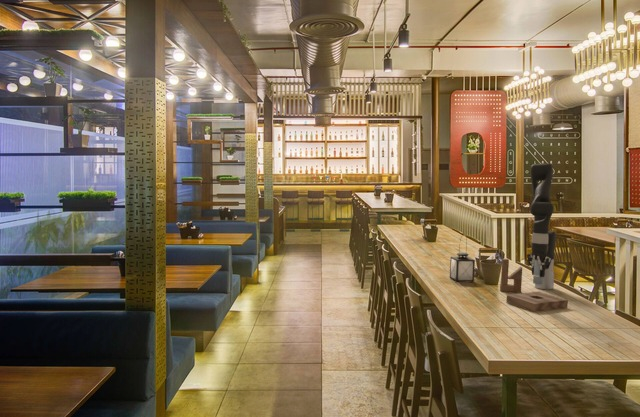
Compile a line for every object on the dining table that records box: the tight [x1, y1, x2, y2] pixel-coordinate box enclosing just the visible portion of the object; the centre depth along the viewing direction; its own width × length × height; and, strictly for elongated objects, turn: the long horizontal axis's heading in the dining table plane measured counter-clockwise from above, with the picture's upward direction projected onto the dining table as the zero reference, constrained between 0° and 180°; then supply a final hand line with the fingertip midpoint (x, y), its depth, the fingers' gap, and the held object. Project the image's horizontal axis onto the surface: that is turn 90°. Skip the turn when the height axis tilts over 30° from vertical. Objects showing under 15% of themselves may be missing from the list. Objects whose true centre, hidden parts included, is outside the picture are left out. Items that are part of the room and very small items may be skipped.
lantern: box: [449, 234, 476, 283], centre depth 306 cm, size 11×11×28 cm
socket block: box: [506, 291, 569, 313], centre depth 251 cm, size 22×18×4 cm
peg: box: [532, 259, 543, 285], centre depth 250 cm, size 4×4×12 cm
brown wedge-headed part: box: [499, 258, 523, 293], centre depth 279 cm, size 4×11×18 cm, turn 79°
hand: (537, 275), depth 250 cm, fingers closed on peg, 4 cm apart
